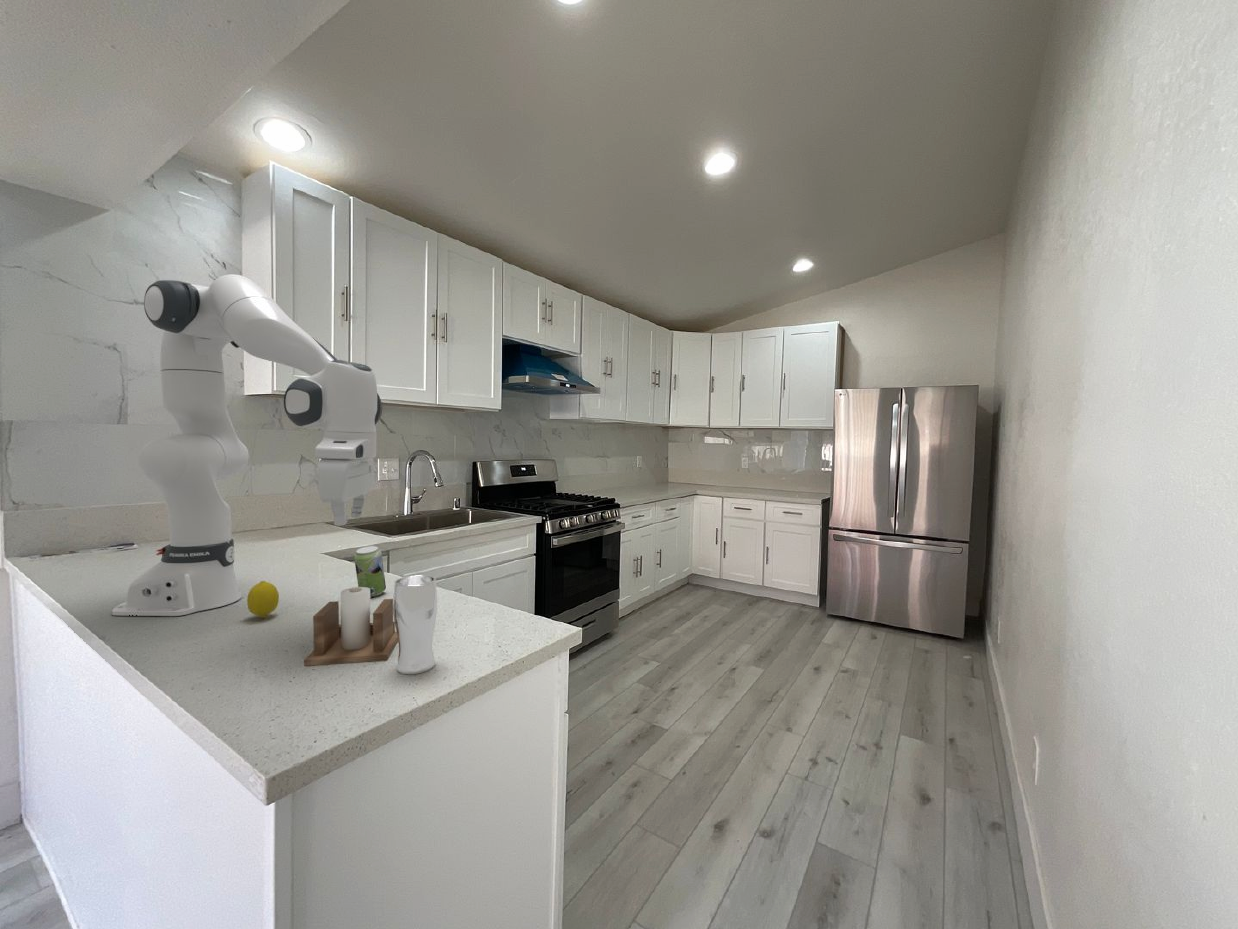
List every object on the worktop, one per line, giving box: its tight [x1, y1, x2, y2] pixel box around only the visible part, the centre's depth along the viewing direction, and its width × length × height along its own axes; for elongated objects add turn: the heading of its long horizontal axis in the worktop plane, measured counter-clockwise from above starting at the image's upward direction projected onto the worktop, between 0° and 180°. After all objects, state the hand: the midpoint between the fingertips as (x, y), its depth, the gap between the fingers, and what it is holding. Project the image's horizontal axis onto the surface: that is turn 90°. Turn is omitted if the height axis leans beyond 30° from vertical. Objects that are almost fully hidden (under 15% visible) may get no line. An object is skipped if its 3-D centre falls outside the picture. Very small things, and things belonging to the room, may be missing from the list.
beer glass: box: [392, 574, 438, 675], centre depth 88 cm, size 7×7×15 cm
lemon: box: [246, 580, 280, 619], centre depth 110 cm, size 6×6×8 cm
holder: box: [303, 598, 399, 666], centre depth 94 cm, size 13×11×8 cm
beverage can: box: [353, 545, 387, 597], centre depth 126 cm, size 6×7×12 cm
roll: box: [340, 586, 371, 650], centre depth 94 cm, size 5×5×10 cm
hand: (349, 520), depth 98 cm, fingers open, 8 cm apart
